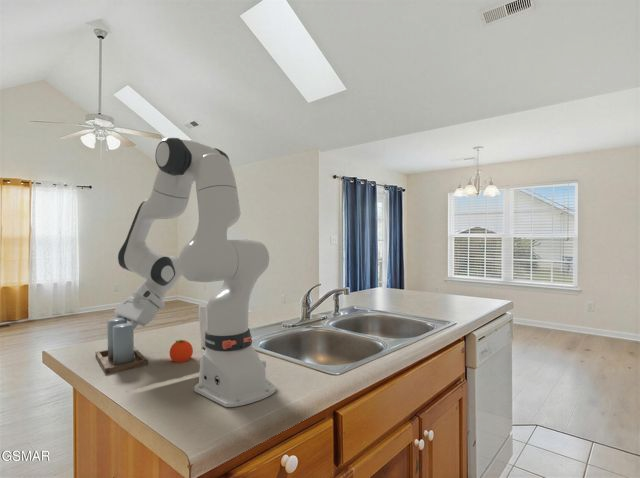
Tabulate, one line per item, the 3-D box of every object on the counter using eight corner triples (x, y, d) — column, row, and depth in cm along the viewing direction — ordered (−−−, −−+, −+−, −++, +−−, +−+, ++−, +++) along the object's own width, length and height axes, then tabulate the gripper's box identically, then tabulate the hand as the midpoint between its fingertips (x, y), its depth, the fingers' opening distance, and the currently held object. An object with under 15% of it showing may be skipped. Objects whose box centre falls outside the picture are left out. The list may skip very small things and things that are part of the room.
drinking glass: (221, 343, 133) (221, 303, 132) (214, 349, 126) (214, 307, 126) (204, 343, 133) (203, 303, 133) (196, 349, 127) (195, 307, 126)
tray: (147, 368, 110) (147, 359, 110) (105, 377, 103) (105, 368, 103) (132, 352, 124) (132, 344, 124) (95, 359, 117) (95, 351, 117)
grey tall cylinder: (136, 365, 109) (135, 325, 109) (115, 369, 106) (114, 329, 106) (131, 360, 114) (131, 322, 113) (111, 364, 110) (111, 325, 110)
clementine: (164, 361, 115) (164, 339, 115) (185, 356, 120) (185, 335, 120) (175, 368, 109) (174, 345, 109) (197, 362, 114) (196, 340, 114)
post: (129, 357, 117) (128, 320, 116) (109, 361, 113) (108, 322, 113) (125, 352, 121) (124, 317, 121) (106, 356, 117) (105, 319, 117)
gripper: (127, 288, 129) (97, 321, 122) (154, 294, 116) (122, 331, 108) (140, 299, 132) (112, 331, 125) (167, 306, 119) (137, 342, 112)
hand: (117, 331), depth 117 cm, fingers open, 8 cm apart
